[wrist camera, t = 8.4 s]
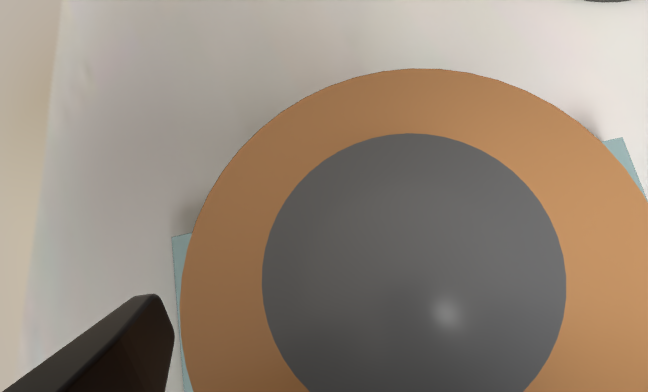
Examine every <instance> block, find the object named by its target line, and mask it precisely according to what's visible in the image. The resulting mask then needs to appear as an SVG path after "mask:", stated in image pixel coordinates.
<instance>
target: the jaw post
mask: <svg viewBox="0 0 648 392" xmlns="http://www.w3.org/2000/svg"><path fill="white" fill-rule="evenodd" d="M180 326H181V340H182V346H183V352H184V357H185V363H186V369H187V372H188V375H189V379H190V382H191V385H192V388H193V392H648V202H647V200H646V198H645V196H644V195H643V193H642V192H641V191H640V189H639V188H638V186H637V185H636V183H635V182H634V180H633V179H632V177H631V176H630V174H629V173H628V172H627V170H626V169H625V168H624V166H623V165H622V164H621V163H620V162H619V161H618V160H617V159H616V157H615V156H614V155H613V154H612V153H611V152H610V151H609V150H608V148H607V147H606V146H605V145H604V144H603V143H602V142H601V141H600V140H598V139H597V138H596V137H595V136H594V135H593V134H592V133H590V132H589V131H588V130H587V129H586V128H585V127H584V126H582V125H581V124H580V123H579V122H577V121H576V120H574V119H573V118H572V117H570V116H569V115H567V114H566V113H564V112H563V111H561V110H560V109H558V108H557V107H555V106H554V105H552V104H550V103H548V102H546V101H545V100H543V99H541V98H539V97H537V96H535V95H533V94H531V93H529V92H527V91H525V90H522V89H520V88H517V87H515V86H512V85H509V84H507V83H504V82H501V81H499V80H495V79H491V78H487V77H483V76H479V75H475V74H471V73H466V72H458V71H451V70H443V69H402V70H392V71H382V72H378V73H373V74H369V75H364V76H359V77H355V78H352V79H349V80H346V81H343V82H340V83H337V84H334V85H331V86H329V87H327V88H324V89H322V90H320V91H318V92H316V93H314V94H312V95H310V96H307V97H305V98H304V99H302V100H300V101H299V102H297V103H295V104H294V105H292V106H291V107H289V108H287V109H286V110H284V111H283V112H281V113H280V114H278V115H277V116H276V117H275V118H273V119H272V120H271V121H270V122H268V123H267V124H266V125H265V126H263V127H262V128H261V129H260V130H259V131H258V132H257V133H256V134H255V135H254V136H253V137H252V138H251V139H250V140H249V141H248V142H247V143H246V144H245V145H244V146H243V147H242V148H241V149H240V150H239V151H238V152H237V154H236V155H235V156H234V157H233V159H232V160H231V161H230V162H229V164H228V165H227V166H226V168H225V169H224V170H223V172H222V173H221V175H220V176H219V178H218V180H217V181H216V183H215V185H214V186H213V188H212V189H211V191H210V193H209V194H208V196H207V199H206V201H205V203H204V205H203V207H202V209H201V212H200V214H199V216H198V218H197V220H196V223H195V226H194V229H193V232H192V235H191V239H190V242H189V245H188V248H187V253H186V258H185V263H184V268H183V273H182V280H181V294H180Z"/></svg>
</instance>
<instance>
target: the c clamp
mask: <svg viewBox="0 0 648 392" xmlns="http://www.w3.org/2000/svg"><path fill="white" fill-rule="evenodd" d="M586 1H594V2H621V1H629V0H586Z"/></svg>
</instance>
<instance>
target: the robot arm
mask: <svg viewBox="0 0 648 392" xmlns="http://www.w3.org/2000/svg"><path fill="white" fill-rule="evenodd" d="M174 338H175V336H174V329H173V326H172V324H171V322H170V319H169V317H168V315H167V312H166V310H165V307H164V305H163V303H162V300H161V299H160V297H159V296H158V295H156V294H147V295H140V296H135V297H133V298H131V299H130V300H128V301H127V302H125V303H124V304H123V305H121V306H120V307H119V308H117V309H116V310H114V311H113V312H112V313H110V314H109V315H108V316H106V317H105V318H103V319H102V320H101V321H99V322H98V323H96V324H95V325H94V326H92V327H91V328H90V329H88V330H87V331H85V332H84V333H83V334H81V335H80V336H79V337H77V338H76V339H74V340H73V341H72V342H70V343H69V344H67V345H66V346H65V347H63V348H62V349H61V350H59V351H58V352H56V353H55V354H54V355H52V356H51V357H50V358H48V359H47V360H45V361H44V362H43V363H41V364H40V365H38V366H37V367H36V368H34V369H33V370H32V371H30V372H29V373H27V374H26V375H25V376H23V377H22V378H20V379H19V380H18V381H16V382H15V383H14V384H12V385H11V386H9V387H8V388H7V389H5V390H4V391H3V392H165V388H166V383H167V377H168V372H169V367H170V362H171V357H172V351H173V346H174Z"/></svg>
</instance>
